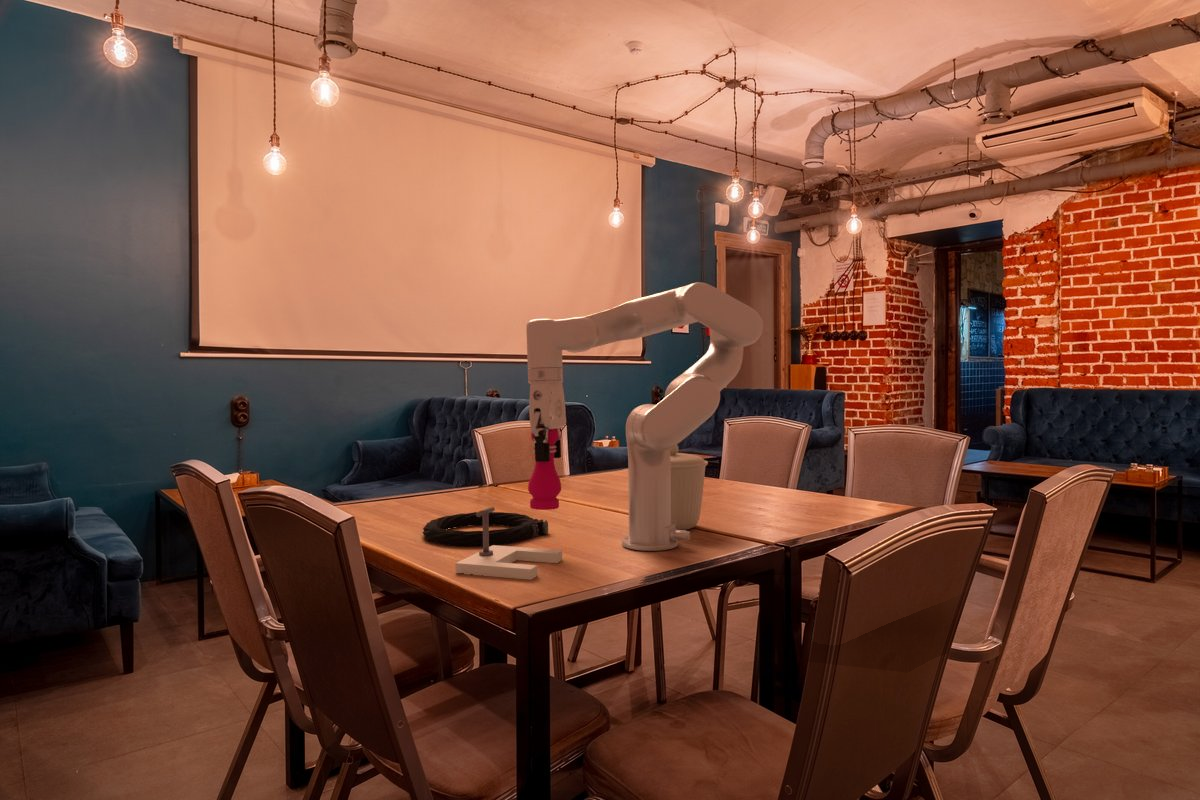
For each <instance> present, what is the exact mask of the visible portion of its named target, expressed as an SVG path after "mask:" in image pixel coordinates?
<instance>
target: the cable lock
mask: <svg viewBox="0 0 1200 800" xmlns="http://www.w3.org/2000/svg"><path fill="white" fill-rule="evenodd" d="M477 512H478V511H474V512H469V513H457V514H452V515H445V516H440V517H438V518H436V519H431V520H430V521H429V522H428V521H427V523H426V524H425V525H424V526H423V528H422V530H423V531H422V534H423V536H424V538H425V539H426V540H427V541H429V542H430V541H431V542H430V543H433V542H435V543H434V544H438V543H440V544H439V545H442V544H444V545H443V546H453V545H455V547H463V546H464V547H465V546H467V547H483V530H470V531H469V530H468V531H466V530H457V529H456V530H454V528H453V527H457V528H461V527H460V526H467V527H469V526H468V525H476V526H483V515H482V516H480V517H477V516H476V513H477ZM488 514H489V526H493V525H492V524H495V525H494V526H500V525H504V527H505V526H507V525H508V526H507V528H498V529H490V530H489V547H490V546H492V545H497V546H502V545H508V544H512V543H517V541H518V542H522V541H524V540H526V539H529V538H535V537H537V536H538V537H541V536H543V535H545V536H547V535H548V534H549V522H548V520H547V519H546V520H544V519H537V518H533V517H531V516H529V515H527V514H521V513H518V512H504V511H503V512H502V511H493V512H490V513H488ZM512 526H513V527H512ZM508 527H509V528H508ZM448 528H453V529H448ZM446 529H448V530H446Z"/></svg>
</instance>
